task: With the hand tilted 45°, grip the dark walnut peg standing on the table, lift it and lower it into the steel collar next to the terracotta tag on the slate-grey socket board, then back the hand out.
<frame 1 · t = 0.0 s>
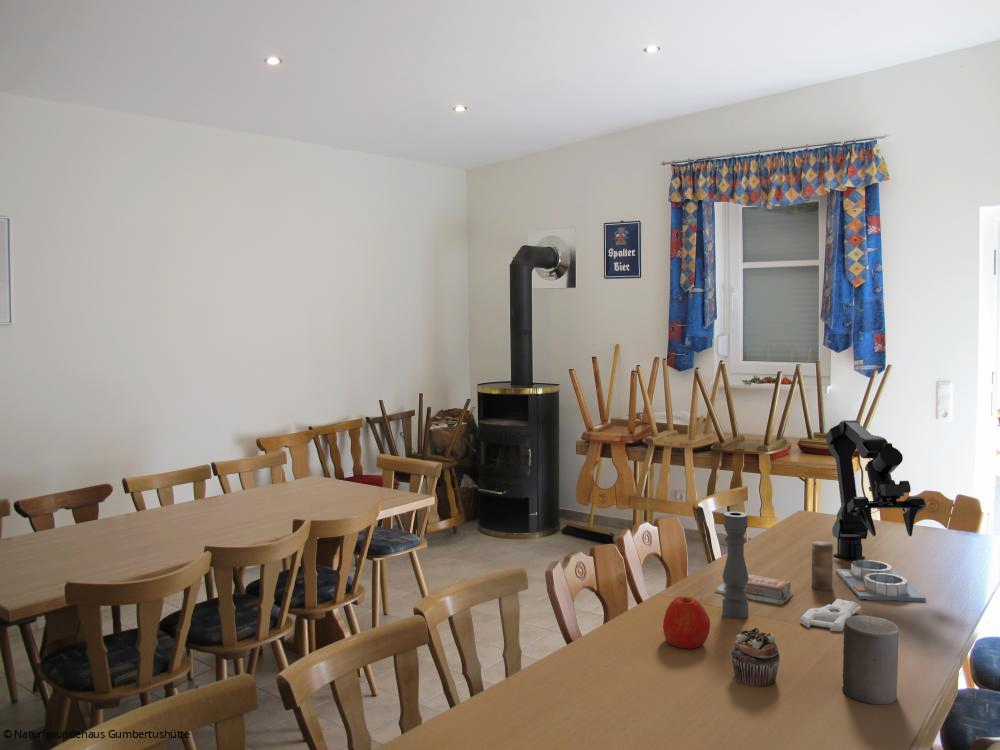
hand: (892, 535, 213), 15 cm above the table, tool tilted 35°, fingers open, 9 cm apart
socket board: (878, 586, 218), on the table
walnut peg: (821, 587, 218), on the table
packaged product: (754, 595, 214), on the table
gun: (830, 621, 195), on the table
apple: (685, 643, 182), on the table
candle holder: (735, 615, 199), on the table
pillar candle: (870, 694, 156), on the table
cupcake: (754, 679, 163), on the table
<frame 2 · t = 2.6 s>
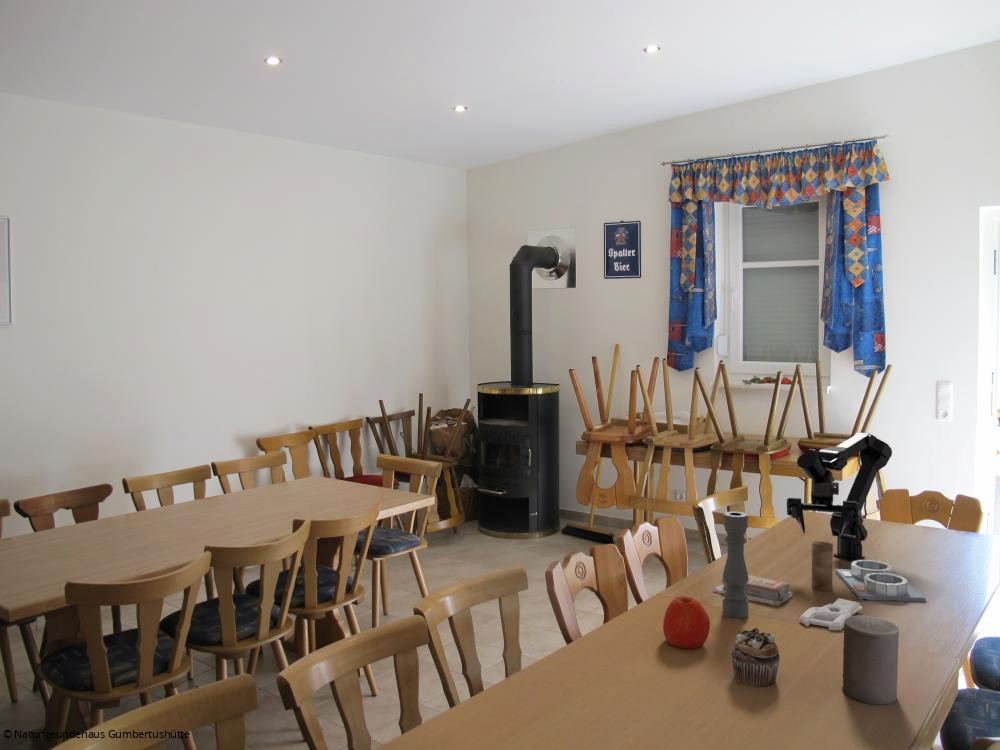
hand: (821, 534, 224), 13 cm above the table, tool tilted 45°, fingers open, 9 cm apart
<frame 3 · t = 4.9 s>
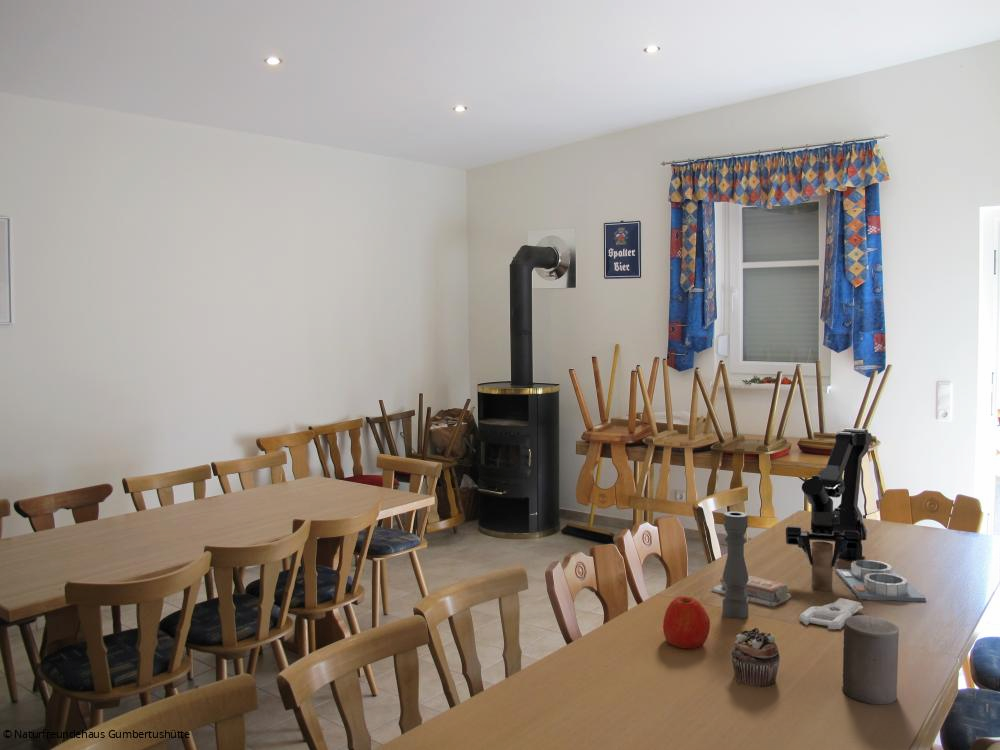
hand: (822, 565, 216), 7 cm above the table, tool tilted 45°, fingers closed on walnut peg, 5 cm apart
walnut peg: (821, 587, 218), on the table, touching gripper
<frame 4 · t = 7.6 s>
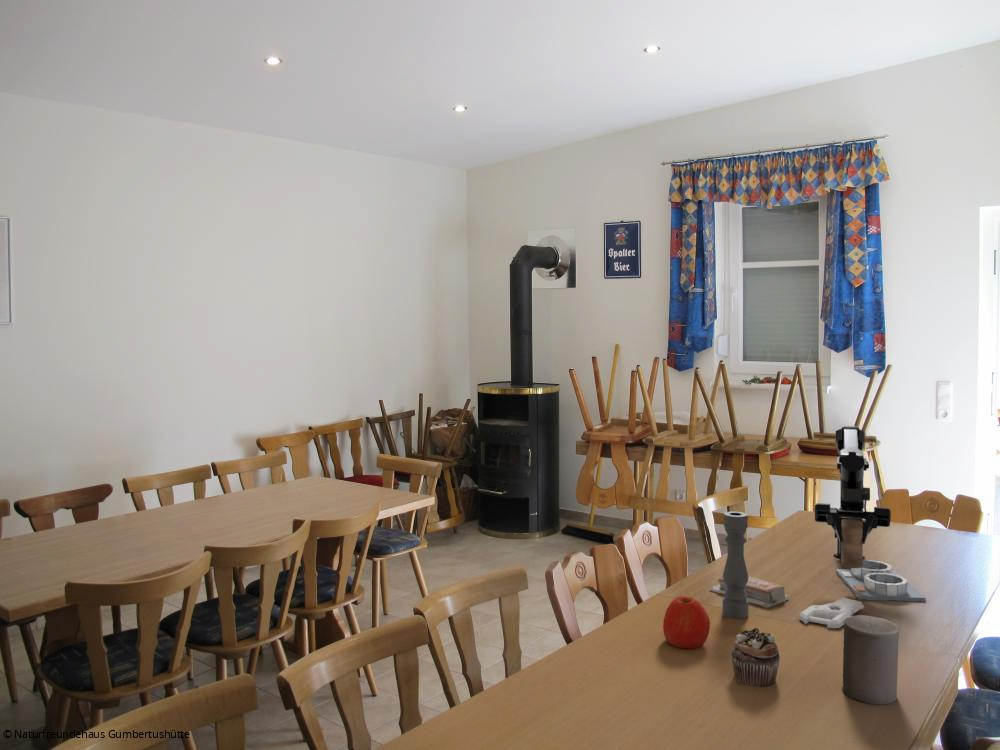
hand: (852, 542, 213), 13 cm above the table, tool tilted 45°, fingers closed on walnut peg, 5 cm apart
walnut peg: (851, 565, 215), point 7 cm above the table, touching gripper
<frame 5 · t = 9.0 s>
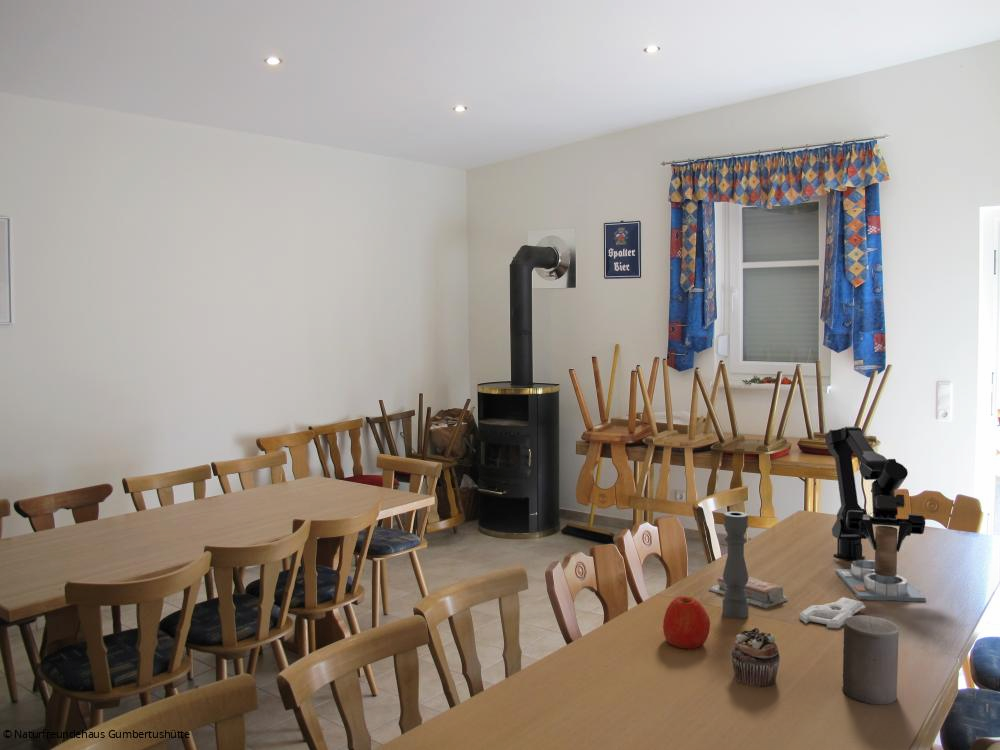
hand: (886, 550, 210), 12 cm above the table, tool tilted 45°, fingers closed on walnut peg, 5 cm apart
walnut peg: (885, 573, 212), point 5 cm above the table, touching gripper
when the fingers open (8 cm above the table, at t = 10.1 s): walnut peg stays where it is, resting on socket board.
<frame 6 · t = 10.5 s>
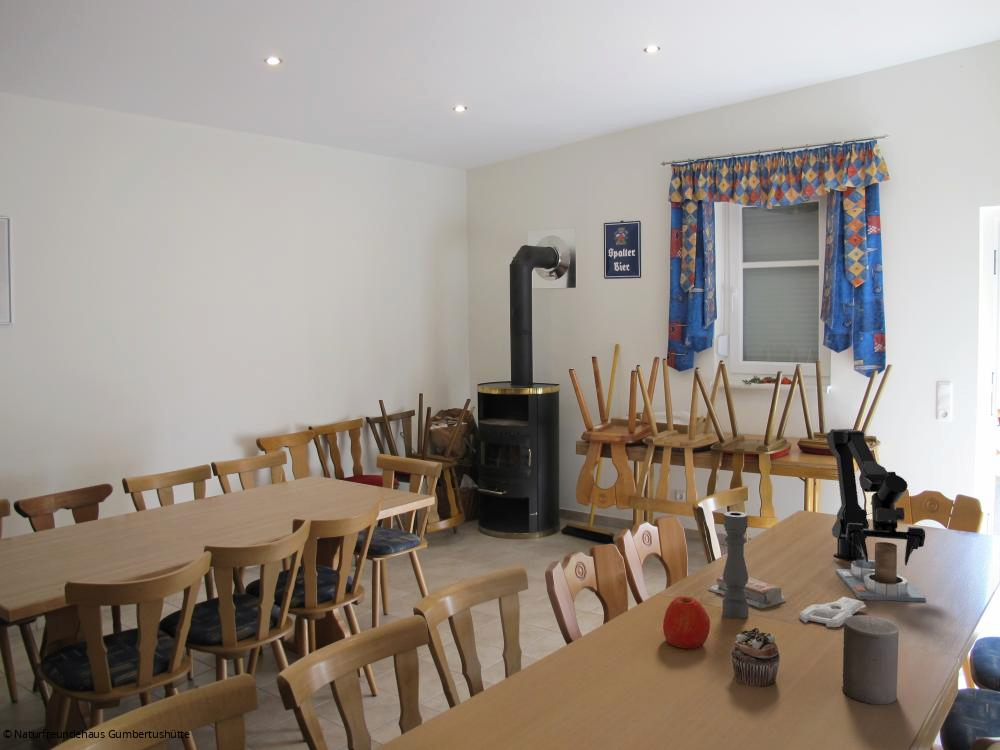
hand: (886, 563, 211), 9 cm above the table, tool tilted 45°, fingers open, 9 cm apart
walnut peg: (885, 589, 212), point 1 cm above the table, touching socket board
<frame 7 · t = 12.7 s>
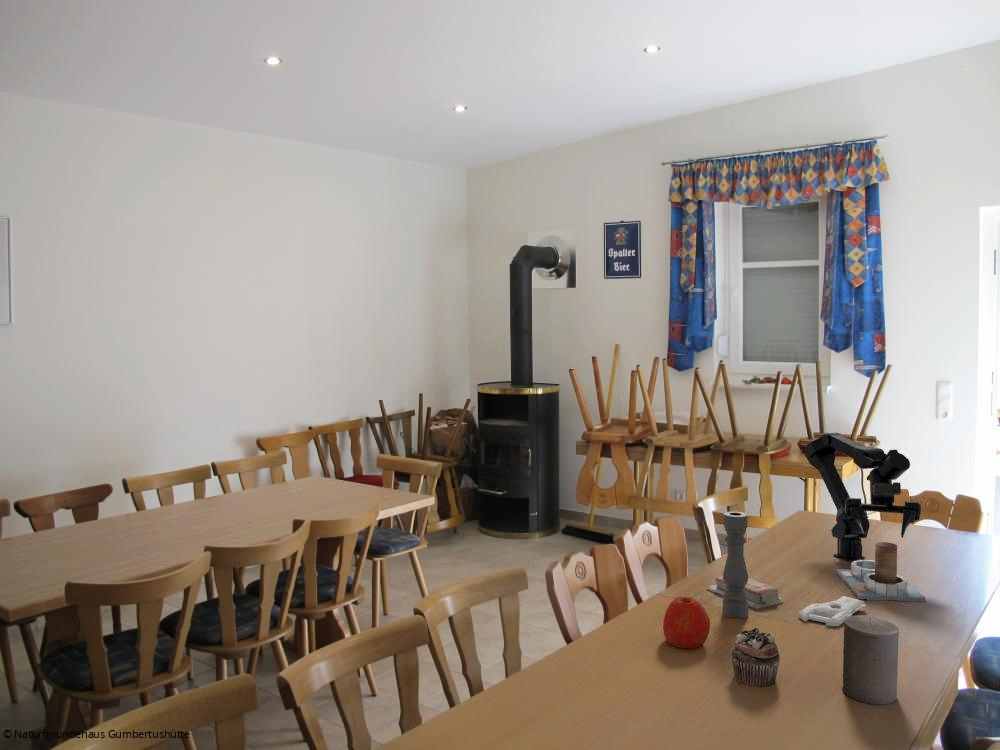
hand: (883, 535, 219), 13 cm above the table, tool tilted 45°, fingers open, 9 cm apart
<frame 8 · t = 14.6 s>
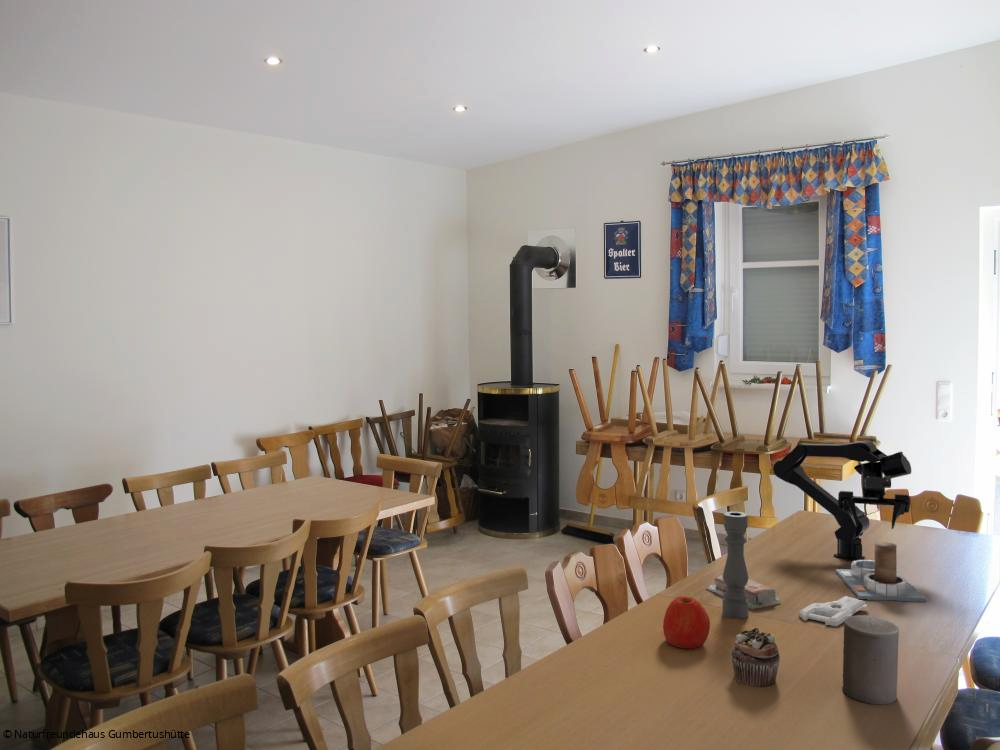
hand: (874, 526, 228), 14 cm above the table, tool tilted 45°, fingers open, 9 cm apart
at the end: walnut peg 0.1 cm from the target spot on the socket board, point 1.0 cm above the socket board's base; walnut peg tilted 1°; the gripper is holding nothing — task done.
